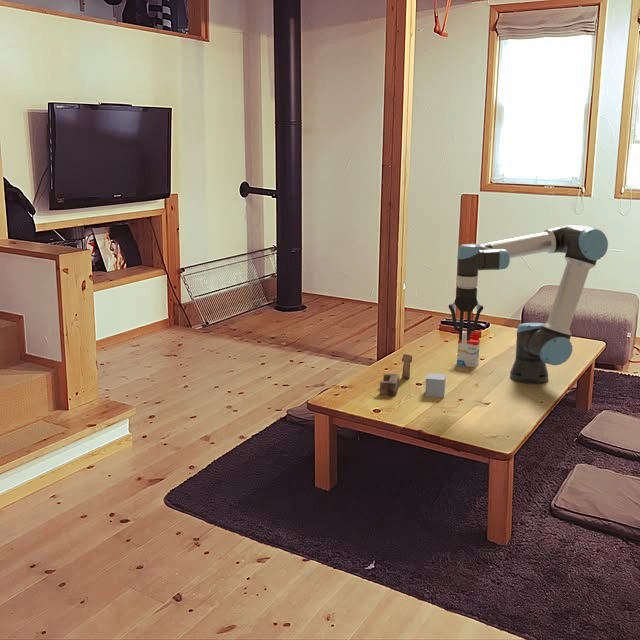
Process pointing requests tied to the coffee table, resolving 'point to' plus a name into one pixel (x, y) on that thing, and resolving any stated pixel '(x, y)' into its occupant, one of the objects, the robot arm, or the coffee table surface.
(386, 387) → the brown notched block
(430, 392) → the block
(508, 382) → the coffee table surface
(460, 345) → the ink box
